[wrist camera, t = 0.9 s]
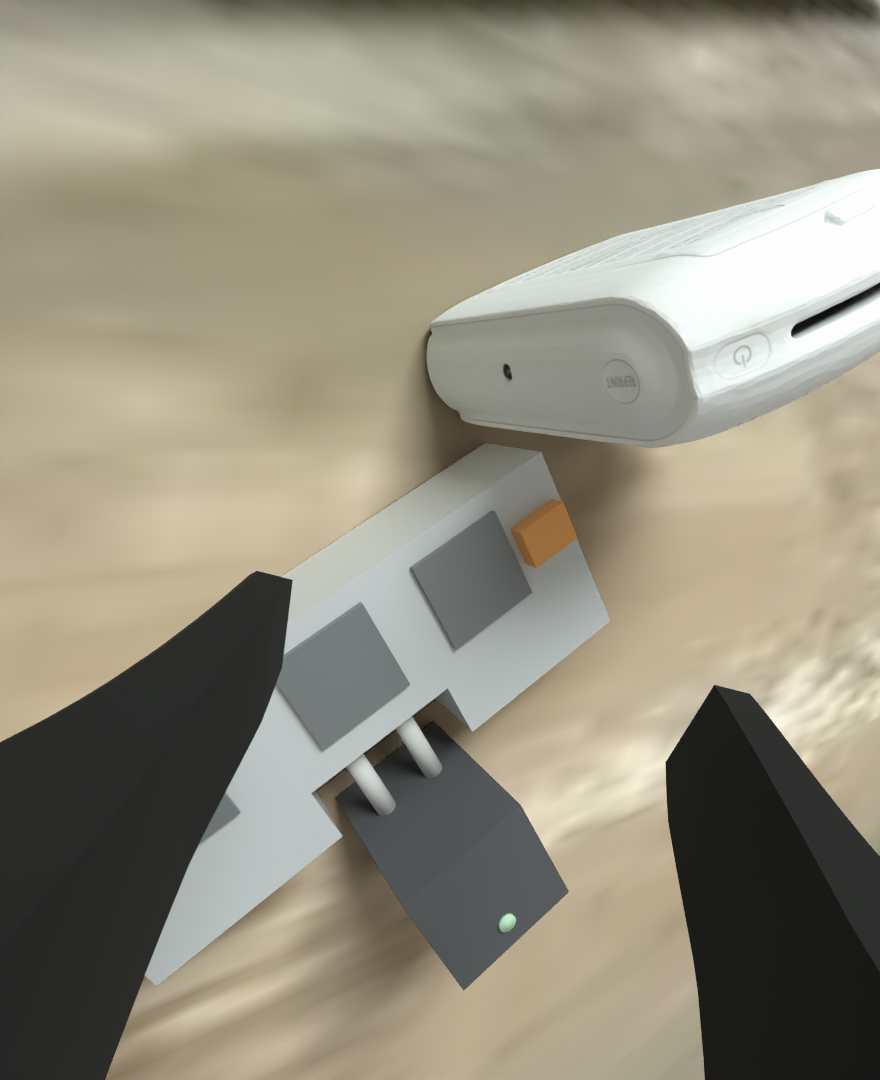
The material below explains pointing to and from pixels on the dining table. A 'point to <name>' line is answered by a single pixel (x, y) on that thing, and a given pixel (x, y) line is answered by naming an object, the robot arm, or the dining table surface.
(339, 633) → the power strip
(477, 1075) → the dining table surface
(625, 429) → the photo printer
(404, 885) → the charger
